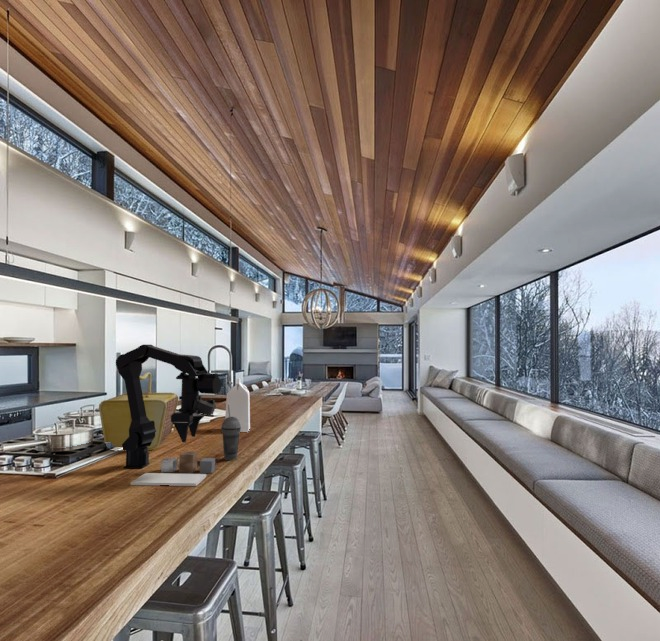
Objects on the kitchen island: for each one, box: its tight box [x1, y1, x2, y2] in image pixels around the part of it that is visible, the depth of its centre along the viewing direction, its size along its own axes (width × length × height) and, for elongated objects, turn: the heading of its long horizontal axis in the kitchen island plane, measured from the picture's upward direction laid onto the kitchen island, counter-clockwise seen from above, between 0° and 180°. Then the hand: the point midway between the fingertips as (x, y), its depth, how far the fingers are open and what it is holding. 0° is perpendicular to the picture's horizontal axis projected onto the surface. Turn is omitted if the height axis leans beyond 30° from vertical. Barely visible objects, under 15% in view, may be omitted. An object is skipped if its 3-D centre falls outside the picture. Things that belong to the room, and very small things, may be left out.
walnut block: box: [178, 451, 198, 474], centre depth 152 cm, size 4×4×6 cm
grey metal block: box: [160, 457, 178, 473], centre depth 153 cm, size 4×4×4 cm
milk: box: [224, 377, 251, 433], centre depth 227 cm, size 12×12×26 cm
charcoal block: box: [199, 457, 216, 474], centre depth 152 cm, size 4×4×4 cm
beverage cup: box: [220, 405, 241, 461], centre depth 170 cm, size 7×7×20 cm
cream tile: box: [130, 472, 207, 487], centre depth 141 cm, size 20×10×1 cm, turn 88°
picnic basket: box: [98, 371, 179, 451], centre depth 194 cm, size 29×26×30 cm
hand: (188, 439), depth 153 cm, fingers open, 9 cm apart
